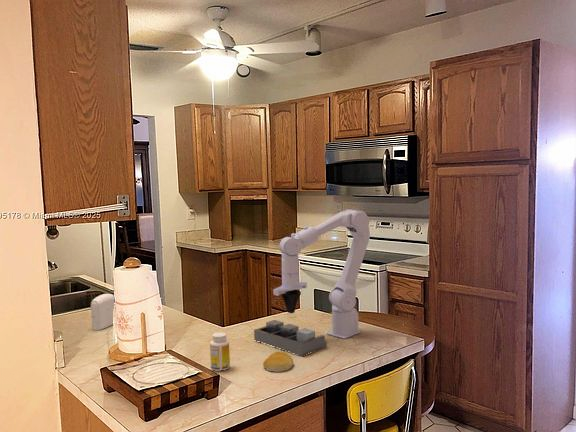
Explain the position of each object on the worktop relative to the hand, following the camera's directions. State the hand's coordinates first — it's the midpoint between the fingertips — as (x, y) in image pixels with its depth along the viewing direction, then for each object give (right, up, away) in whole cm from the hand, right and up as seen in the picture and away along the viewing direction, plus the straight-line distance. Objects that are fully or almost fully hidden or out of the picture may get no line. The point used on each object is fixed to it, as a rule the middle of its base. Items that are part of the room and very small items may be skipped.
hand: (290, 312), depth 169 cm
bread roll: (-4, -12, -21) cm, 25 cm away
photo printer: (-71, -10, +21) cm, 75 cm away
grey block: (+5, -10, -7) cm, 13 cm away
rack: (0, -10, -2) cm, 10 cm away
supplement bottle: (-21, -13, -22) cm, 33 cm away
